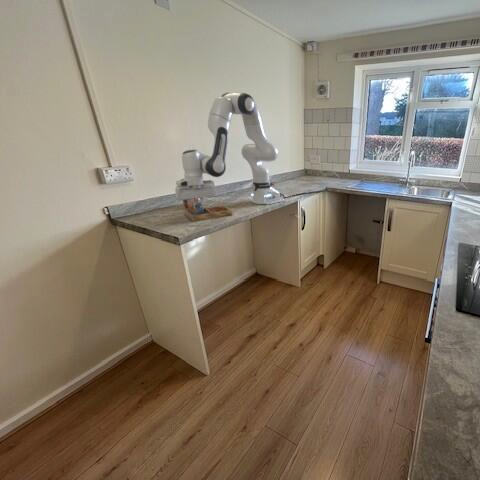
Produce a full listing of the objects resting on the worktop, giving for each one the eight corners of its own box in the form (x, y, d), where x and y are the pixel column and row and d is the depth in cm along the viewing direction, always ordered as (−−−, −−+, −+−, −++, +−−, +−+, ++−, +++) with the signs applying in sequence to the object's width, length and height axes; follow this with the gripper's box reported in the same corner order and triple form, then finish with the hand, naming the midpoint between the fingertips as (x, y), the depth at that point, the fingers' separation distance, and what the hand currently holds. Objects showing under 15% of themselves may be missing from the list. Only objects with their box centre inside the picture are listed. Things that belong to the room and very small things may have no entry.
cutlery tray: (223, 209, 163) (223, 205, 162) (232, 215, 153) (231, 210, 152) (185, 215, 150) (185, 210, 149) (192, 221, 140) (191, 216, 139)
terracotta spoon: (186, 209, 161) (185, 205, 160) (192, 208, 163) (192, 204, 162) (191, 213, 153) (190, 208, 152) (197, 212, 156) (196, 207, 154)
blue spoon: (192, 207, 149) (192, 202, 148) (199, 206, 151) (198, 201, 150) (197, 211, 142) (196, 206, 141) (204, 210, 144) (203, 205, 143)
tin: (188, 209, 162) (186, 195, 159) (183, 208, 162) (181, 195, 159) (199, 203, 176) (197, 191, 173) (194, 203, 176) (192, 190, 173)
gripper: (212, 179, 149) (214, 202, 154) (172, 181, 137) (177, 207, 142) (215, 180, 145) (218, 204, 150) (175, 183, 133) (179, 209, 138)
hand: (198, 206), depth 146 cm, fingers closed on blue spoon
